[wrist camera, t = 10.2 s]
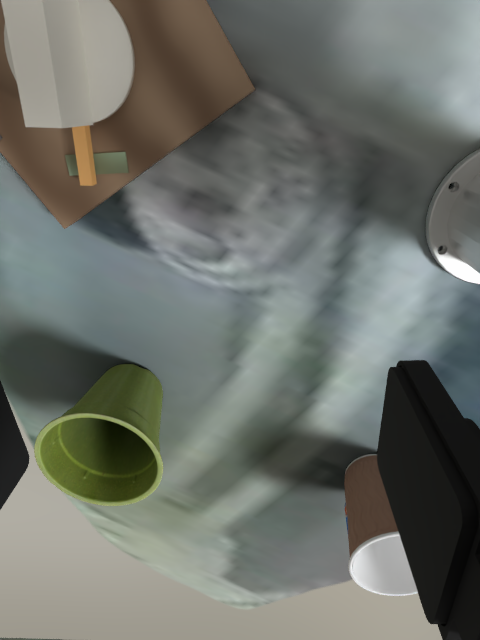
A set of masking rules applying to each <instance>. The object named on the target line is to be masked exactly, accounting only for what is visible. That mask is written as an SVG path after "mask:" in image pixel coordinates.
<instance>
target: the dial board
mask: <svg viewBox="0 0 480 640" xmlns="http://www.w3.org/2000/svg"><path fill="white" fill-rule="evenodd" d="M110 2H111V3H112V4H113V5H114V6H115V8H116V9H117V10H118V12H119V13H120V15H121V16H122V18H123V20H124V22H125V24H126V26H127V28H128V31H129V34H130V36H131V40H132V44H133V48H134V56H135V71H134V79H133V83H132V87H131V90H130V92H129V94H128V96H127V98H126V100H125V102H124V103H123V105H122V106H121V107H120V108H119V109H118V110H117V111H116V112H115V113H114V114H113V115H111V116H110V117H108V118H106V119H104V120H102V121H99V122H95V123H93V125H89V126H90V134H91V142H92V150H93V158H94V165H95V173H96V181H97V184H95V185H93V186H82V185H80V180H79V173H78V166H77V159H76V153H75V146H74V139H73V132H72V127H69V128H39V127H25V122H24V117H23V111H22V106H21V101H20V96H19V91H18V85H17V81H16V80H15V77H14V75H13V73H12V71H11V68H10V66H9V63H8V59H7V55H6V50H5V43H4V28H5V18H4V13H3V8H2V3H1V0H0V152H1V153H2V155H3V156H4V157H5V158H6V159H7V161H8V162H9V163H10V164H11V165H12V167H13V168H14V169H15V170H16V171H17V173H18V174H19V175H20V176H21V177H22V179H23V180H24V181H25V182H26V183H27V185H28V186H29V187H30V188H31V189H32V191H33V192H34V193H35V194H36V195H37V197H38V198H39V199H40V200H41V201H42V203H43V204H44V205H45V206H46V207H47V209H48V210H49V211H50V212H51V213H52V215H53V216H54V217H55V218H56V219H57V221H58V222H59V223H60V224H61V225H62V227H63V228H64V229H65V228H67V227H69V226H70V225H72V224H73V223H75V222H76V221H78V220H79V219H81V218H82V217H83V216H85V215H86V214H87V213H89V212H90V211H91V210H93V209H94V208H95V207H97V206H98V205H100V204H101V203H102V202H104V201H105V200H106V199H108V198H109V197H110V196H112V195H113V194H115V193H116V192H117V191H119V190H120V189H121V188H123V187H124V186H125V185H127V184H128V183H130V182H131V181H132V180H134V179H135V178H136V177H138V176H139V175H140V174H142V173H143V172H145V171H146V170H147V169H149V168H150V167H151V166H153V165H154V164H155V163H157V162H158V161H160V160H161V159H162V158H164V157H165V156H166V155H168V154H169V153H170V152H172V151H173V150H175V149H176V148H177V147H179V146H180V145H181V144H183V143H184V142H185V141H187V140H188V139H190V138H191V137H192V136H194V135H195V134H196V133H198V132H199V131H200V130H202V129H203V128H204V127H206V126H207V125H209V124H210V123H211V122H213V121H214V120H215V119H217V118H218V117H219V116H221V115H222V114H224V113H225V112H226V111H228V110H229V109H230V108H232V107H233V106H234V105H236V104H237V103H239V102H240V101H241V100H243V99H244V98H245V97H247V96H248V95H249V94H251V93H252V92H254V91H255V88H254V86H253V84H252V83H251V81H250V79H249V77H248V75H247V73H246V72H245V70H244V68H243V66H242V64H241V63H240V61H239V59H238V57H237V55H236V54H235V52H234V50H233V48H232V46H231V44H230V43H229V41H228V39H227V37H226V35H225V34H224V32H223V30H222V28H221V26H220V24H219V23H218V21H217V19H216V17H215V15H214V14H213V12H212V10H211V8H210V6H209V4H208V3H207V1H206V0H110Z"/></svg>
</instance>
